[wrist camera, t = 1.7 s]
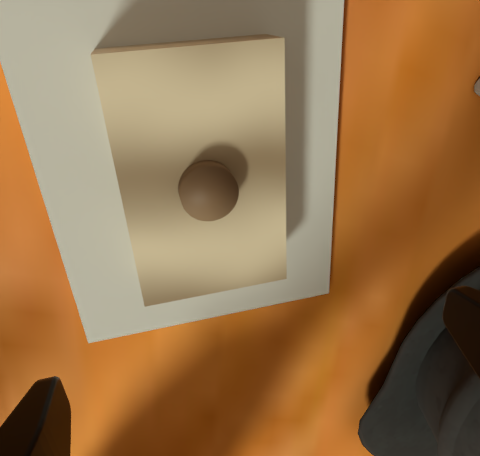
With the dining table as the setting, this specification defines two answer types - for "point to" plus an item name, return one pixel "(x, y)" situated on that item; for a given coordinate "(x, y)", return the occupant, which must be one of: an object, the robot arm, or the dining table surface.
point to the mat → (100, 157)
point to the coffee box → (477, 87)
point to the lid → (199, 160)
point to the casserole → (427, 394)
